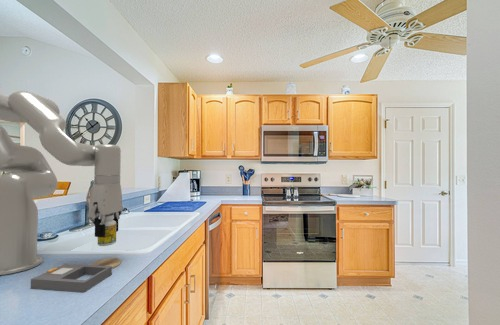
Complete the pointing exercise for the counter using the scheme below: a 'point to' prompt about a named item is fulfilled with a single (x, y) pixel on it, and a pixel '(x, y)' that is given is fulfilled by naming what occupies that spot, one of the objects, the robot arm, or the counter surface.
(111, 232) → the supplement bottle
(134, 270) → the counter surface
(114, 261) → the cork coaster
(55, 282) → the gray rectangular fixture
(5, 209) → the robot arm
